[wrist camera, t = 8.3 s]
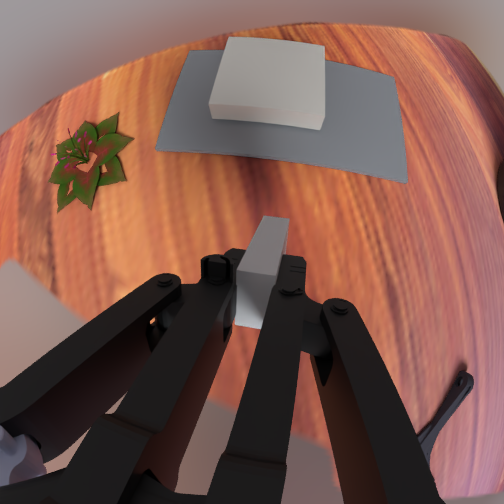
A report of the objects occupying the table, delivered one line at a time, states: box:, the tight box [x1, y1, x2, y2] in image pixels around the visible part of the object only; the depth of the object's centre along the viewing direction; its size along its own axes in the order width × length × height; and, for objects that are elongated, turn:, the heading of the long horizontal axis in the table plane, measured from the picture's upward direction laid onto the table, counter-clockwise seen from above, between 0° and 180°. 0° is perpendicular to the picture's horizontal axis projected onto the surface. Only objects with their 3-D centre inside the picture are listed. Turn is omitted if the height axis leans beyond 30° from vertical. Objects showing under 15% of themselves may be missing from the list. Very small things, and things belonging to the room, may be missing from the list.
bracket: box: [417, 371, 474, 485], centre depth 20 cm, size 14×15×3 cm
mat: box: [155, 50, 408, 184], centre depth 25 cm, size 24×14×1 cm, turn 82°
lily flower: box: [48, 112, 134, 213], centre depth 23 cm, size 12×12×5 cm
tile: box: [209, 37, 325, 130], centre depth 24 cm, size 10×3×10 cm
